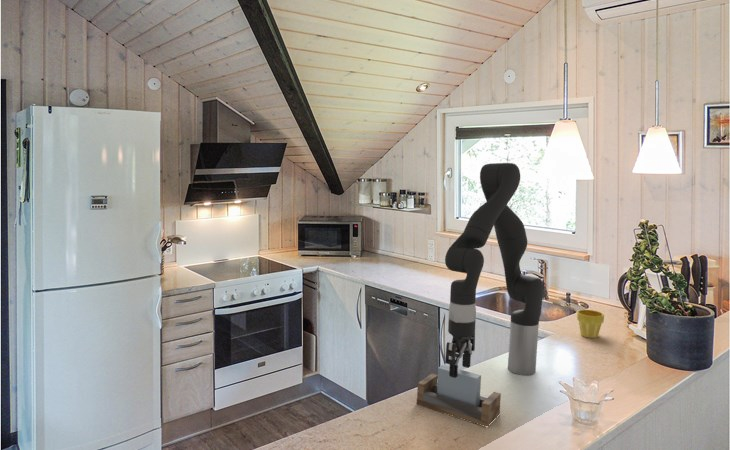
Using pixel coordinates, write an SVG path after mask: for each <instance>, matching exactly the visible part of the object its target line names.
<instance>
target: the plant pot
mask: <svg viewBox="0 0 730 450" xmlns="http://www.w3.org/2000/svg"><path fill="white" fill-rule="evenodd" d="M576 319H577V321H578V325H579V331H580V335H581V336H582V337H585V338H589V339H595V338H598V337H599V335H600V331H601V327H602V325H603V323H604V320H605V314H604V313H603V312H602V311H598V310H593V309H579V310H577V312H576Z"/></svg>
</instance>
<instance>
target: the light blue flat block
mask: <svg viewBox="0 0 730 450" xmlns="http://www.w3.org/2000/svg"><path fill="white" fill-rule="evenodd" d="M449 369H450V365H445V364H441V365H440V366H439V367H438V368H437V375H438V378H437V383H438V384H437V394H439V395H442V396H445V397H449V398H452V399H455V400H458V401H461V402H465V403H468V404H471V405H474V406H477V407H479V406H480V396H481V386H482V385H481V384H482V375H481V374H477V373H475V372H470V371H468V370H463V369H460V368H458V376H457V377H456V378H453V377H450V376H449Z"/></svg>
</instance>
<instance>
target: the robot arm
mask: <svg viewBox="0 0 730 450" xmlns="http://www.w3.org/2000/svg"><path fill="white" fill-rule="evenodd" d="M479 180H480V187H481V189H482V192H483V196H484V198H485V200H486V201H485V202H484V203H483V204H481V206H479V207H478V208H477V209H475V211H474V212H473V213H472V214H471V216H470V218H469V219H468V222H467V224H466V225H465V228H464V230H463V231H462V233H461V234H460V235H459V236H458V237H457V239H455V241H454V242H453V243H452V244H451V245H450V247H448V249H447V251H446V254H445V257H444V263H445V266H446V268H447V269H448V270H450V271H452V272H456V273H464V274H466V277H465V278H464V279H455V280H453V281H452V282H451V283H450V296H449V298H450V299H449V305H448V322H447V323H448V325H447V326H448V327H447V329H448V330H447V331H448V334H450V335H451V336H452V338H451V339H452V340H451V342H447V343H446V347H445V348H446V349H445V362H444V363H445V364H447V365H449V367H450V369H449V376H450V377H453V378H456V377H457V376H458V369H459V362H460V359H461V358H462V360H461V361H462V365H461V366H462V367H463V368H466V369H469V368H470V367H471V359H472V358H471V357H472V354H473V352H475V349H476V347H475V345H476V320H477V317H476V316H477V307H476V299H477V297H476V295H477V287H478V283H479V280H480V276H481V273H482V271H483V268H484V263H485V258H484V255H483V253H482V251H481V250H479V249H480V248H483V247H484V246H485V245H486V244H487V242H488V239H489V237H490V235H491V232H492V230H493V228H494V231H495V236H496V237H495V238H496V240H497V245H498V248H499V252H500V255H501V260H502V264H503V271H504V279H505V285H506V286H505V287H506V290H507V294H508V296H509V298H510V299H512V300H513V301H516V302H520V303H524V304H525V305H524V309H518V310H514V311H512V312H511V314H510V327H509V342H508V343H509V344H508V357H507V369H508V371H509V372H511V373H512V374H516V375H520V376H531V375H535V374H536V369H537V355H538V354H537V353H538V339H539V323H540V318H541V313H542V306H543V298H544V291H545V290H544V282H543V281H542V279H541V278H539V277H535V276H531V275H526V274H523V273H522V271H521V268H520V267H521V265H520V262H521V260H522V258H523V256H524V254H525V252H526V251H527V247H528V237H527V236H528V235H527V233H526V232H527V231H526V229H525V225H524V223H523V221H522V219H520V217H519V215H517V214H516V213H515V212H514V210H512V208H510V206H509V205H508V204H509V202H510V200H511V199H512V198H513V196H514V195H515V193H516V192H517V190H518V188H519V186H520V183H521V171H520V168H519V167H518V165H517V164H516V163H513V162H497V163H496V162H495V163H486V164H484V165H482V167H481V169H480V172H479Z"/></svg>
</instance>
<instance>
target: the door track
mask: <svg viewBox="0 0 730 450" xmlns="http://www.w3.org/2000/svg"><path fill="white" fill-rule="evenodd" d="M437 384H438V374H435V373H431V374H429V375H427V376H426V377H425V378H423V379H421V380H420V381H419V382H417V392H416V394H417V396H416V397H417V398H416V405H418V406H421V407H424V408H427V409H430V410H432V411H436V412H438V411H439V412H438V413H441V412H442V414H444V413H446V414H445V415H447V414H449V415H448V416H450V415H453V416H455V417H454V418H456V417H459V418H462V419H465V420H468V421H471V422H473V423H472V424H474V423H478V424H481V425H484V426H489V424H490V423H491V422H492V421H493V420H494V419H495V418H497V416H498V415H499V414H500V415H501V397H502V393H500V392H497V391H493V392H492V393H491V394H490V395H488V396H487V397H484V396H482V395H480V406H479V407H477V406H474V405H471V404H468V403H465V402H461V401H458V400H455V399H452V398H449V397H445V396H442V395H439V394H437ZM500 415H499V416H500ZM453 416H452V417H453ZM499 416H498V417H499ZM459 418H458V419H459ZM462 419H461V420H462ZM465 420H464V421H465ZM468 421H467V422H468ZM471 422H470V423H471ZM489 427H490V426H489Z"/></svg>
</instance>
